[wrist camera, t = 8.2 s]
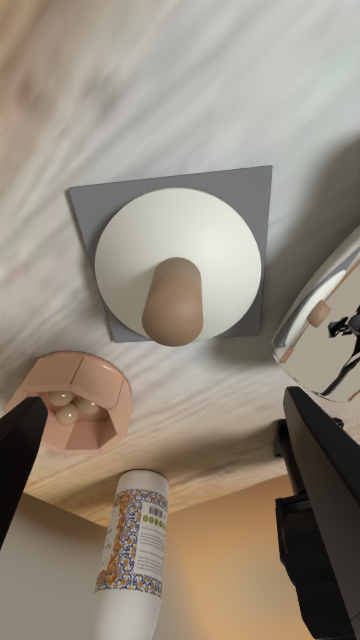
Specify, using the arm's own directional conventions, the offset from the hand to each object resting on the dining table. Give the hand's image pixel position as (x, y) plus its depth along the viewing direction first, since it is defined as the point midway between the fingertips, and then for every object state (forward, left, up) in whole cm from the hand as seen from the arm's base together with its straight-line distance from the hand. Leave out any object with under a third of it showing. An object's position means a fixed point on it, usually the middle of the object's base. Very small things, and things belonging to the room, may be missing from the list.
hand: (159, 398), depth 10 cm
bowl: (-12, +11, -12) cm, 20 cm away
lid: (0, 0, -11) cm, 11 cm away
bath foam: (-31, +8, -12) cm, 34 cm away
